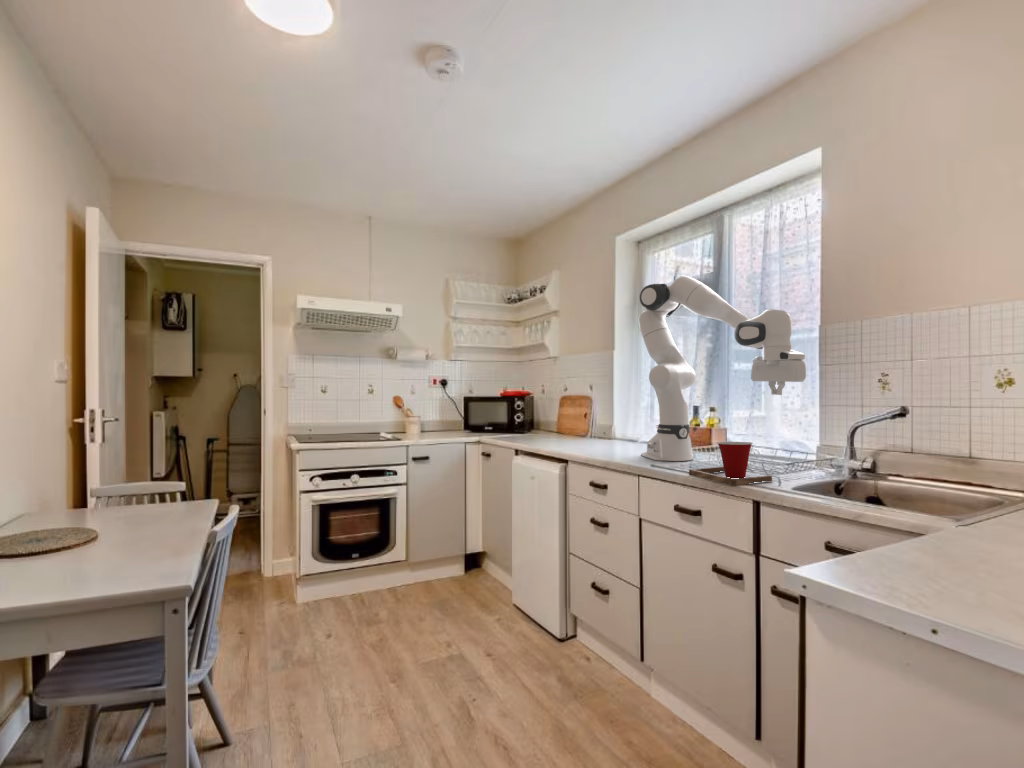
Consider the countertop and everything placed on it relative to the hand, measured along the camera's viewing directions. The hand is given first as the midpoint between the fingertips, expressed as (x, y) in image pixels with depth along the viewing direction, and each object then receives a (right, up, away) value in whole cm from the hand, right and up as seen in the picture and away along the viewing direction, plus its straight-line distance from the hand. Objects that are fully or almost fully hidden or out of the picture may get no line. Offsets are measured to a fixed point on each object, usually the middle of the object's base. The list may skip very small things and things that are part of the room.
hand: (776, 394), depth 175 cm
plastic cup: (-20, -27, -12) cm, 35 cm away
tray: (-22, -27, -12) cm, 36 cm away
